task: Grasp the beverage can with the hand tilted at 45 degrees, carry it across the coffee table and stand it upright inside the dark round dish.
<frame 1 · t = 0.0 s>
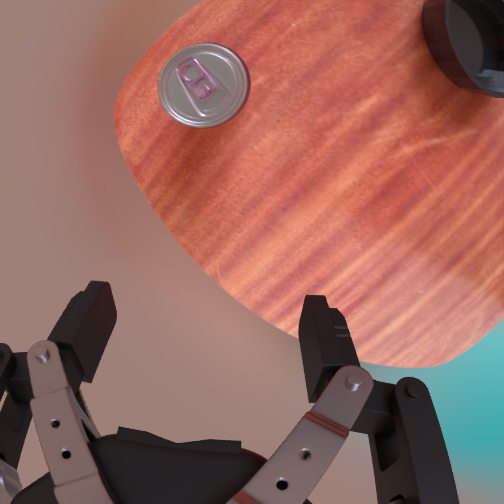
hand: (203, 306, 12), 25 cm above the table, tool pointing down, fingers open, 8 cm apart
beverage can: (222, 84, 29), on the table
dark round dish: (467, 38, 24), on the table
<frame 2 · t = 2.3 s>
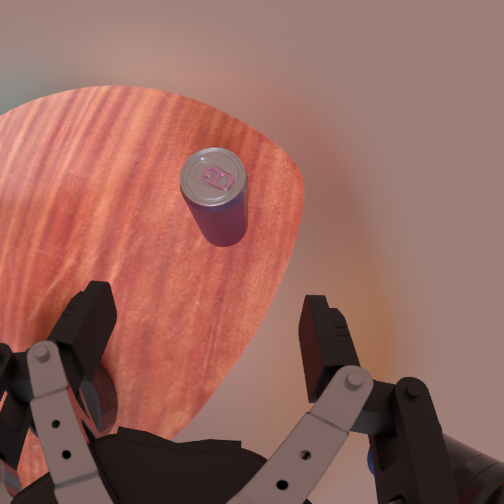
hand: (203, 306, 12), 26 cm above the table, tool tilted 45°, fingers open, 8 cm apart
beverage can: (224, 226, 40), on the table
dark round dish: (72, 393, 35), on the table
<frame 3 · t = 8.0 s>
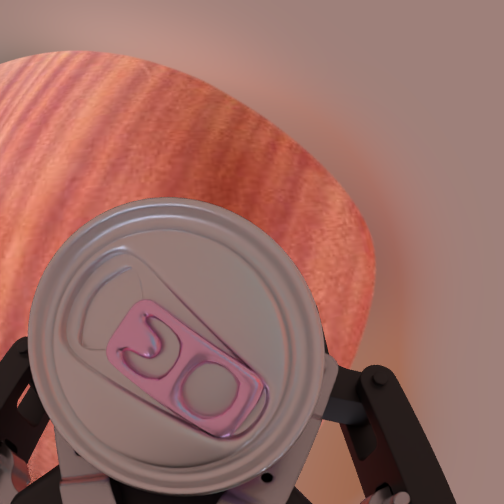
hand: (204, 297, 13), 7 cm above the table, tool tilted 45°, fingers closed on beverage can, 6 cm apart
beverage can: (215, 334, 19), on the table, touching gripper
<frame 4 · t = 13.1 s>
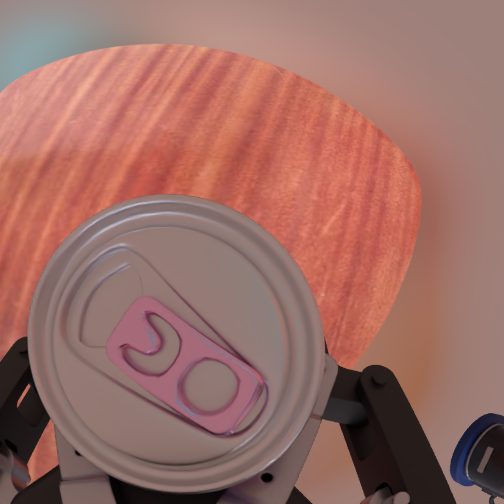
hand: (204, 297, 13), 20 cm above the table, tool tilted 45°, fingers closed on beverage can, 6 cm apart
beverage can: (215, 333, 19), point 13 cm above the table, touching gripper
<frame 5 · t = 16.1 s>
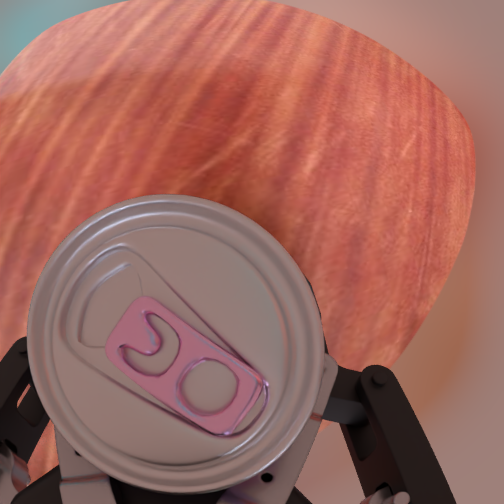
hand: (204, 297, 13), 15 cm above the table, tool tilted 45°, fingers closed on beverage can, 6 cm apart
beverage can: (215, 333, 19), point 7 cm above the table, touching gripper
when the fingers open (8 cm above the table, at t = 18.6 s): beverage can stays where it is, resting on dark round dish.
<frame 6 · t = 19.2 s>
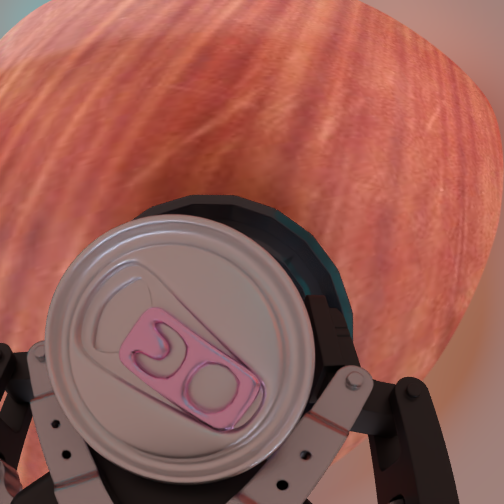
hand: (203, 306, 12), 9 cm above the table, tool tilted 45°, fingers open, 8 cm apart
beverage can: (215, 334, 20), resting on dark round dish
dark round dish: (214, 333, 20), on the table
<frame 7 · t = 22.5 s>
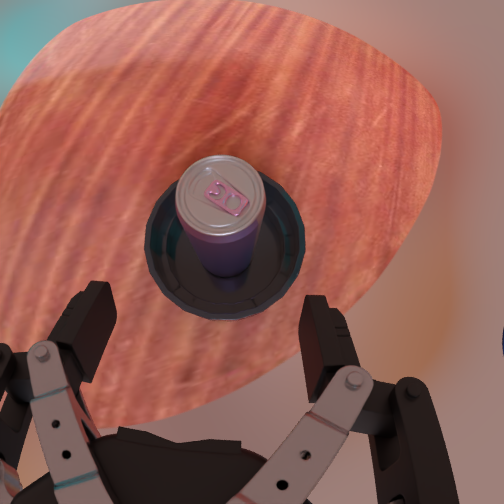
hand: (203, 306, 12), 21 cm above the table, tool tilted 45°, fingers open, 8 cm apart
beverage can: (226, 251, 34), resting on dark round dish
dark round dish: (225, 250, 34), on the table
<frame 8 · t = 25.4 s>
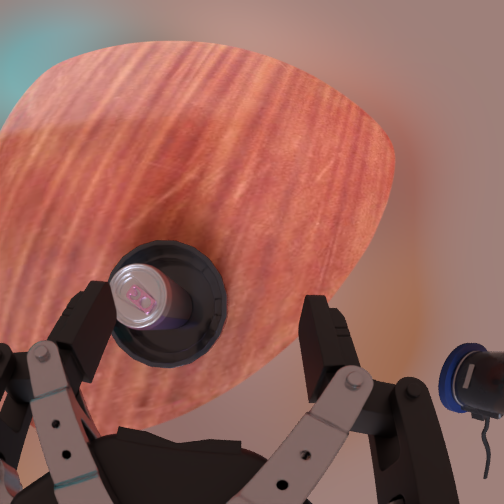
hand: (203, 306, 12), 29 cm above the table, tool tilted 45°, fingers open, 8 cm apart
beverage can: (171, 306, 40), resting on dark round dish
dark round dish: (171, 306, 40), on the table
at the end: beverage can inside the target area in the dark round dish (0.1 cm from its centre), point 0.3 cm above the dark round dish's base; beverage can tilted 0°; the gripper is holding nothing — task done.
